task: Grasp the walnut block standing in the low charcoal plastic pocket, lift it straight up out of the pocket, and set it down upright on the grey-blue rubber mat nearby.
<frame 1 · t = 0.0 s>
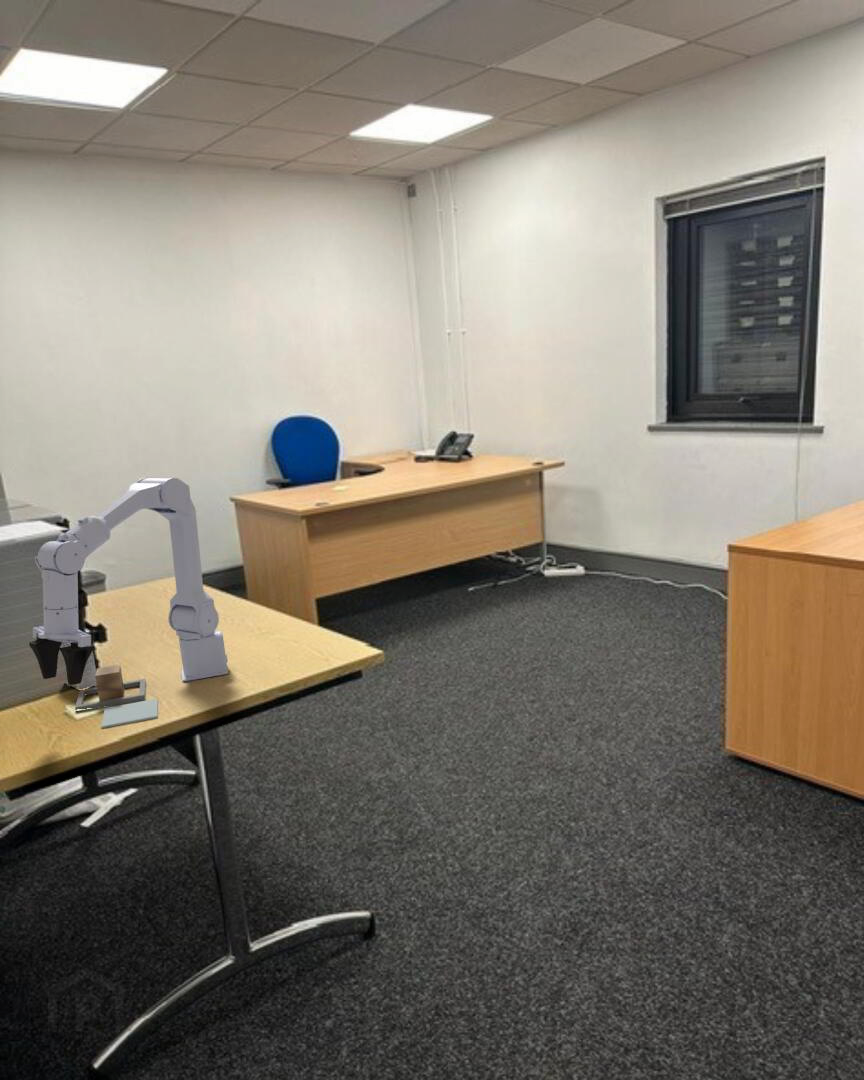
hand: (61, 680, 143), 11 cm above the table, tool pointing down, fingers open, 7 cm apart
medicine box: (81, 685, 169), on the table
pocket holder: (112, 697, 161), on the table
mat: (130, 713, 152), on the table
walnut block: (110, 683, 161), in the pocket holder
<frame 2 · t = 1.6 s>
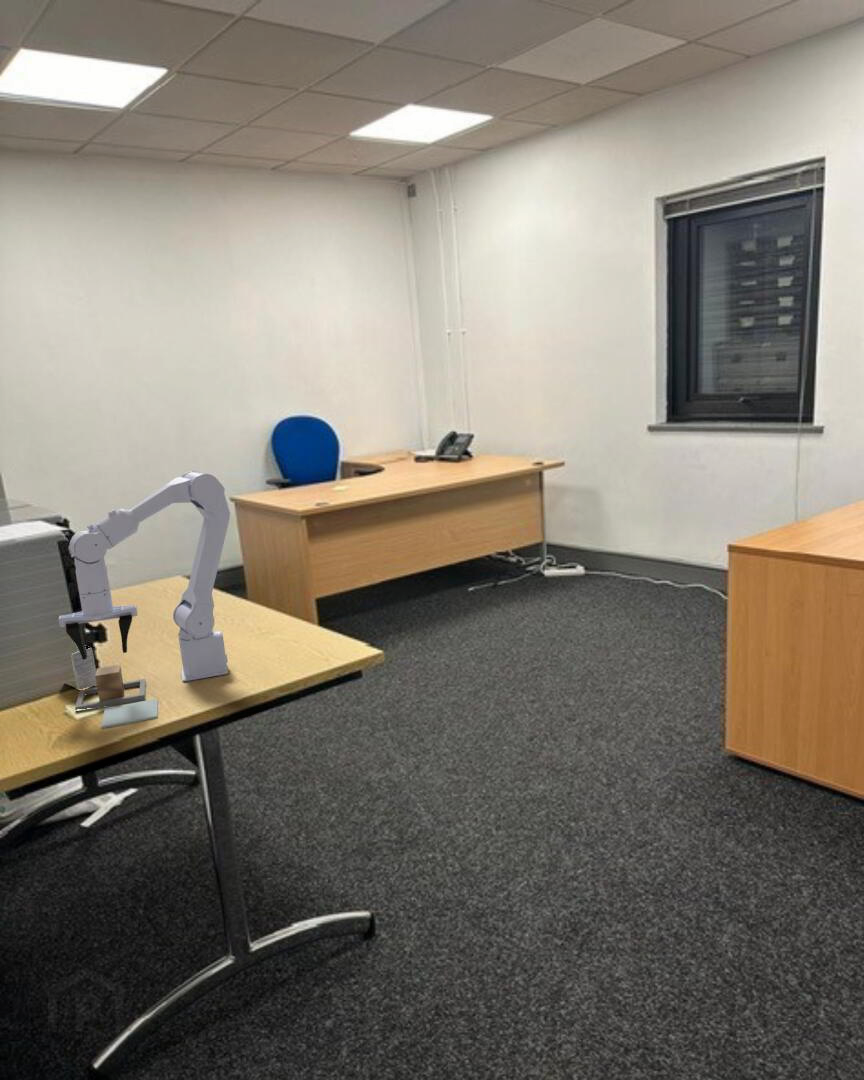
hand: (105, 654, 159), 9 cm above the table, tool pointing down, fingers open, 7 cm apart
nothing on the table moved.
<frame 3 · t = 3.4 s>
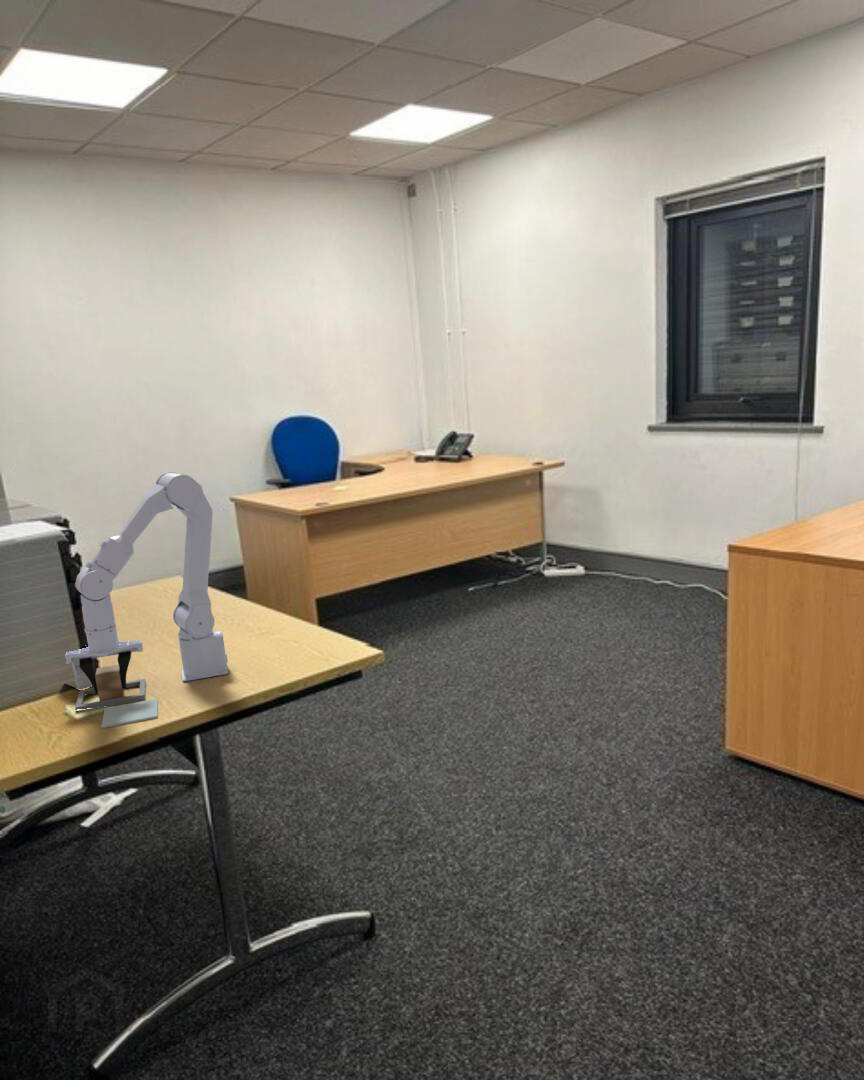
hand: (111, 689, 161), 2 cm above the table, tool pointing down, fingers closed on walnut block, 4 cm apart
walnut block: (110, 683, 161), in the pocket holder, touching gripper
everything else where it was.
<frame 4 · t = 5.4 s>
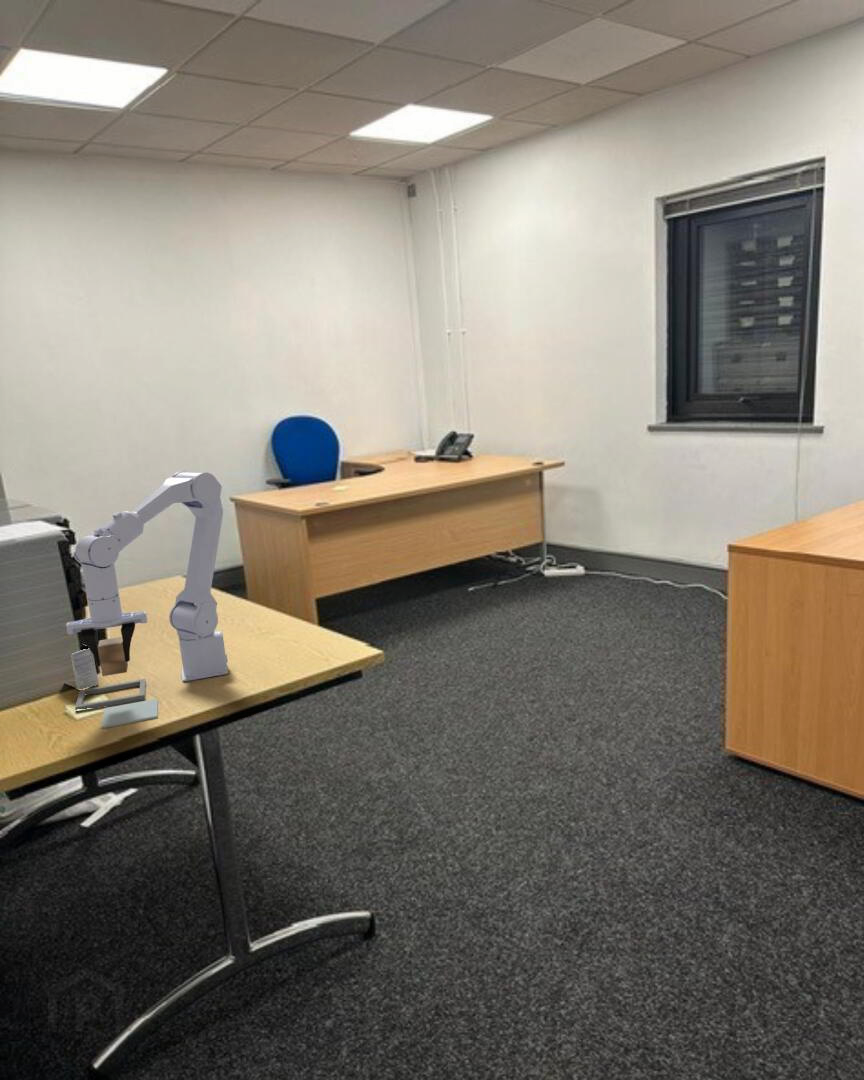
hand: (114, 662, 155), 9 cm above the table, tool pointing down, fingers closed on walnut block, 4 cm apart
walnut block: (113, 656, 155), point 10 cm above the table, touching gripper
everything else where it was.
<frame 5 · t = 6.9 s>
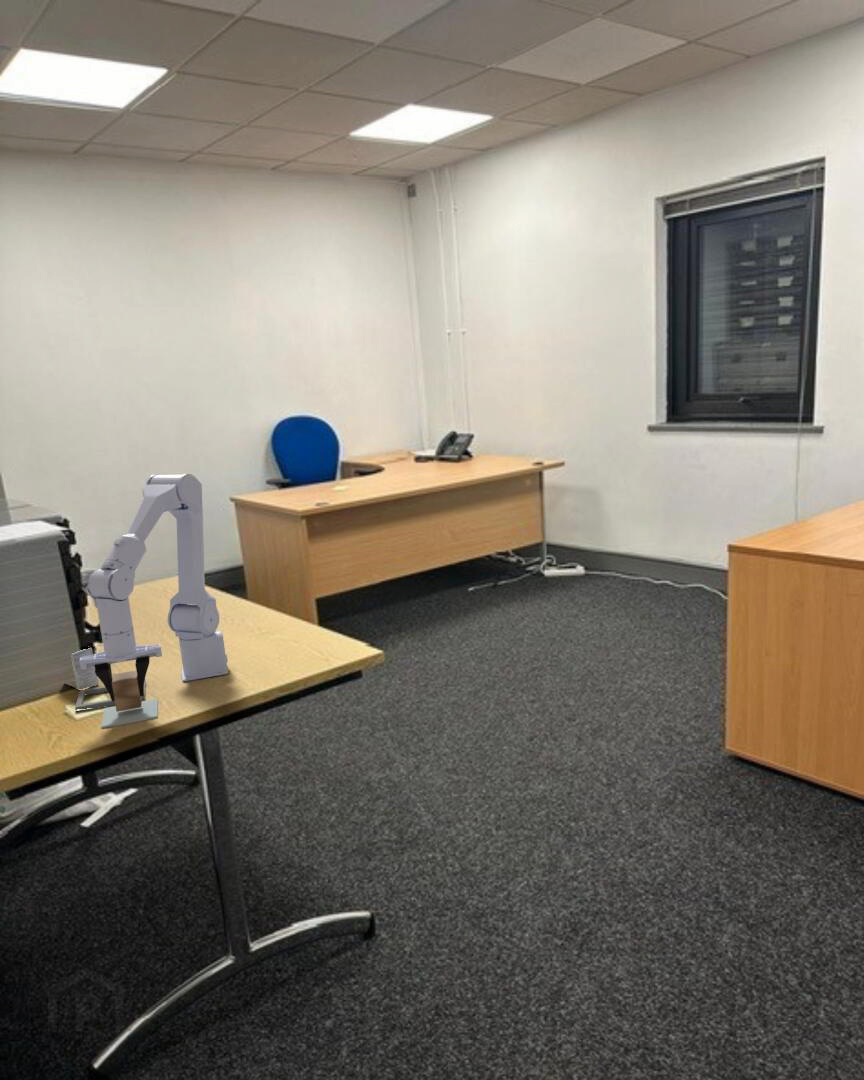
hand: (128, 696, 151), 4 cm above the table, tool pointing down, fingers closed on walnut block, 4 cm apart
walnut block: (127, 690, 151), point 5 cm above the table, touching gripper
everything else where it was.
when the fingers open (3 cm above the table, at t = 7.8 s): walnut block drops 1 cm, resting on mat.
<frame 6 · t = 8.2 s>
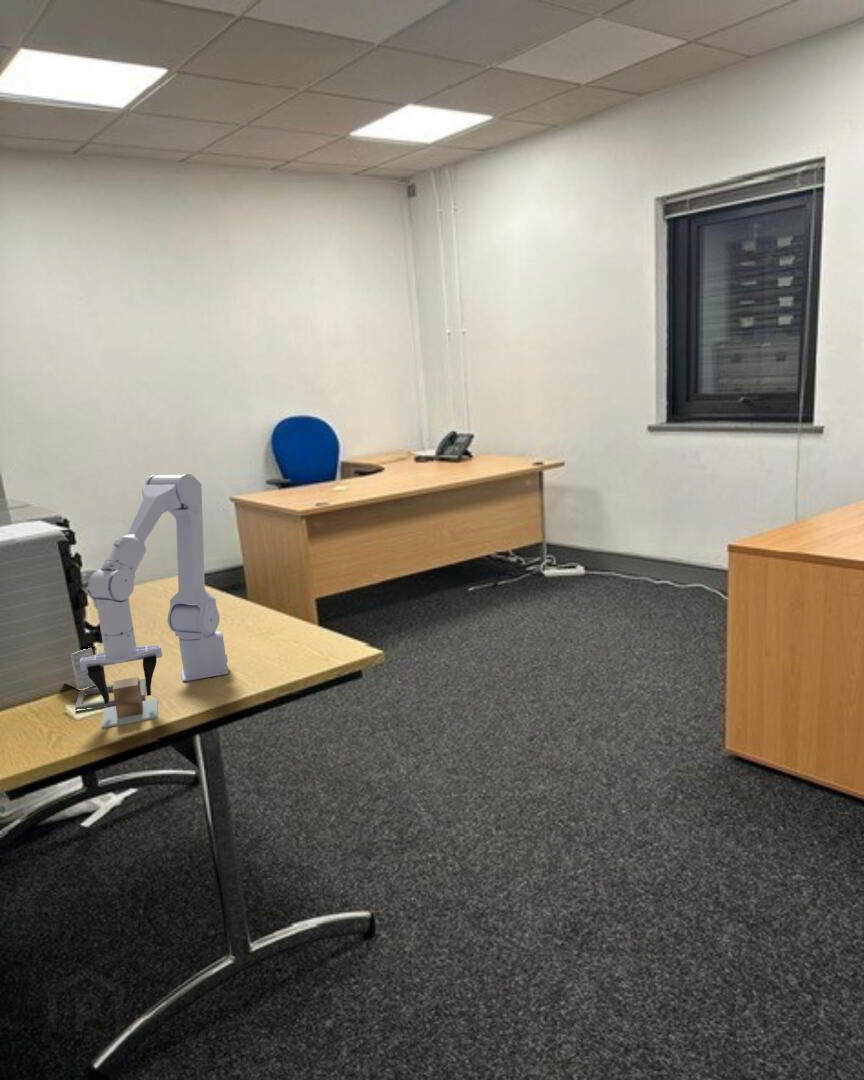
hand: (128, 697, 151), 3 cm above the table, tool pointing down, fingers open, 7 cm apart
walnut block: (128, 697, 152), on the mat
everything else where it was.
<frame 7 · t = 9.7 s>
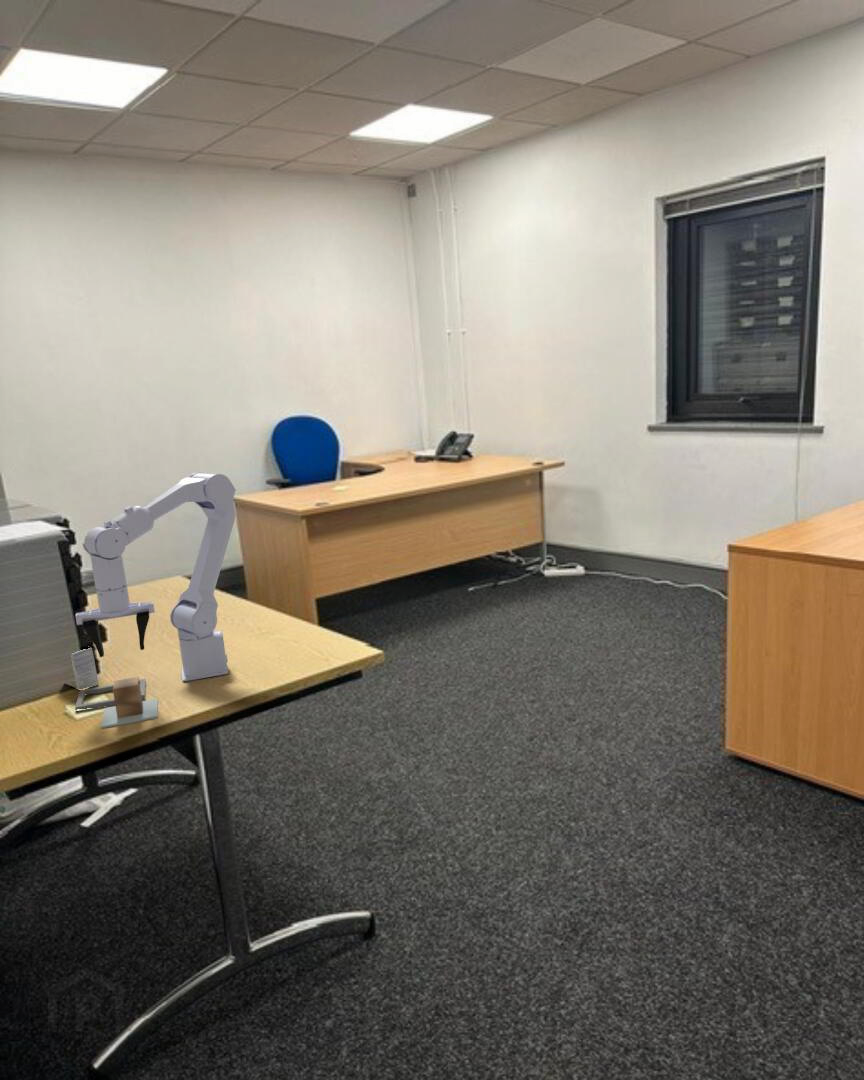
hand: (122, 651, 158), 10 cm above the table, tool pointing down, fingers open, 7 cm apart
nothing on the table moved.
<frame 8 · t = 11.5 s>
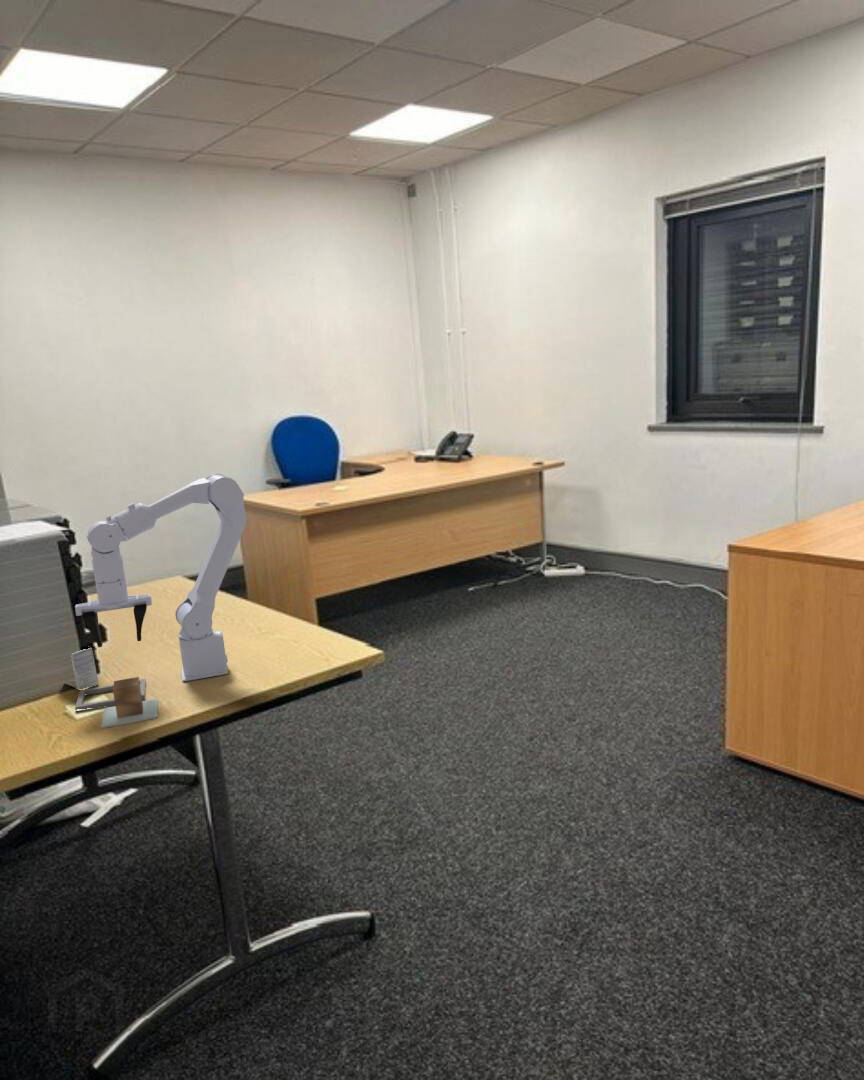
hand: (120, 642, 163), 10 cm above the table, tool pointing down, fingers open, 7 cm apart
nothing on the table moved.
at the end: walnut block 0.1 cm off-centre on the mat, point 3.4 cm above the mat's base; walnut block tilted 0°; the gripper is holding nothing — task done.
